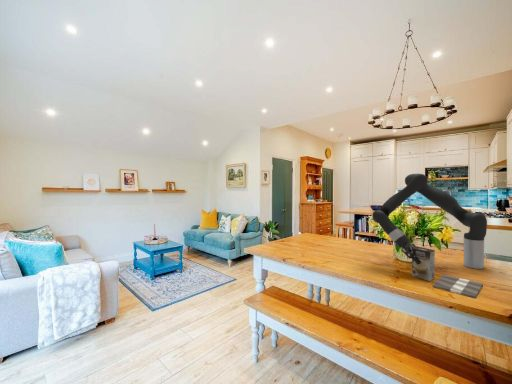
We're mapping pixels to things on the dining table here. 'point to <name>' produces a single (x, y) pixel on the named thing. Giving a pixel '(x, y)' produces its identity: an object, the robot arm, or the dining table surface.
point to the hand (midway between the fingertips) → (422, 262)
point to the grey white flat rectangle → (458, 285)
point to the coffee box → (423, 263)
